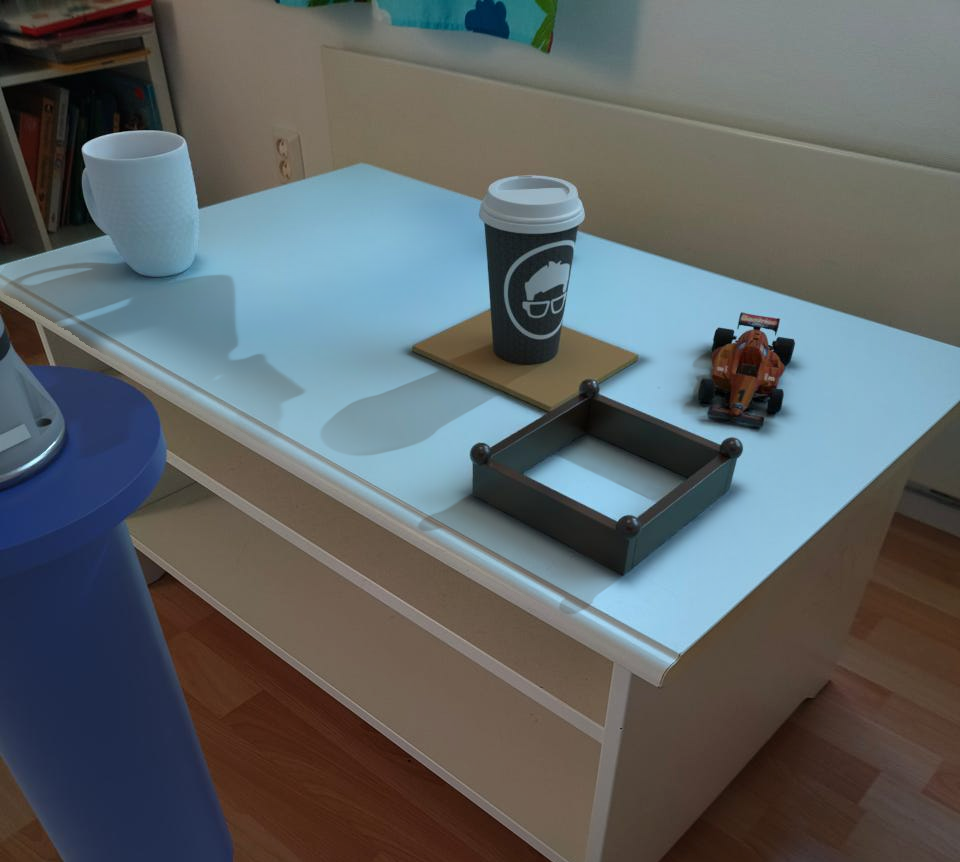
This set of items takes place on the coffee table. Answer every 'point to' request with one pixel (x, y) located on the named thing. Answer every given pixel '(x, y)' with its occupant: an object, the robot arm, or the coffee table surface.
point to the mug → (144, 198)
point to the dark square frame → (581, 524)
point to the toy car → (747, 369)
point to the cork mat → (534, 383)
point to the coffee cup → (529, 263)
